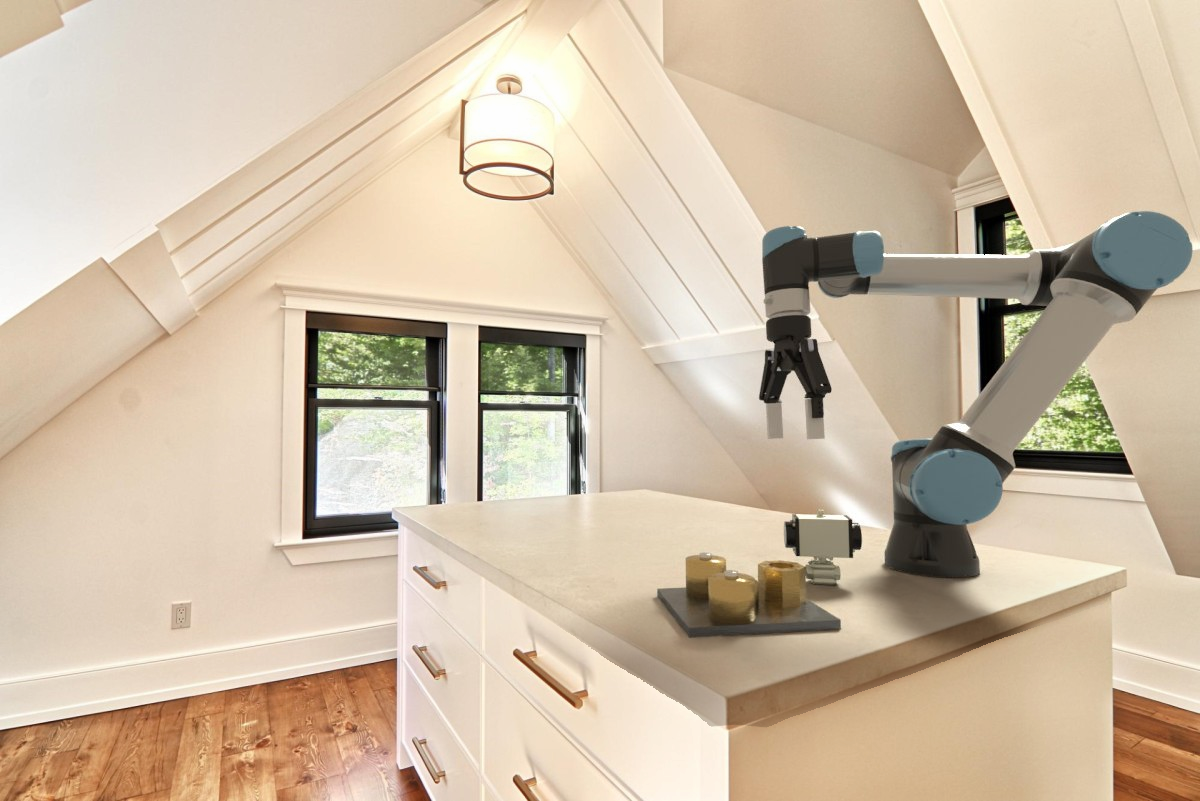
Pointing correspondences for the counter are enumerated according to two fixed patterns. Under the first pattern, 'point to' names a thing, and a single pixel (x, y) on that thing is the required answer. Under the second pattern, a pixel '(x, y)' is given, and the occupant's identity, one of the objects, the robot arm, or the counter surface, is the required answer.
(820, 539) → the pneumatic valve
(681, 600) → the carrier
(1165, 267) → the robot arm
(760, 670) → the counter surface
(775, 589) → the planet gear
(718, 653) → the counter surface
